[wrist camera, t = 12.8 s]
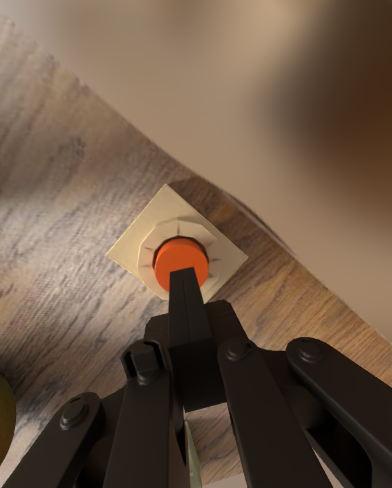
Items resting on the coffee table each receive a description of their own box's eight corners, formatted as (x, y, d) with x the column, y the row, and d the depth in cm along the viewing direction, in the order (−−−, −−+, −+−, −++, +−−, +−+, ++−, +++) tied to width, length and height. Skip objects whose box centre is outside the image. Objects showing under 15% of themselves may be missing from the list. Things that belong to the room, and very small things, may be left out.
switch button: (214, 258, 18) (219, 267, 16) (183, 292, 19) (184, 305, 17) (178, 228, 17) (179, 233, 15) (146, 264, 18) (143, 274, 16)
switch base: (241, 251, 22) (256, 264, 18) (190, 306, 23) (194, 329, 19) (166, 183, 20) (165, 182, 16) (112, 248, 21) (98, 262, 17)
